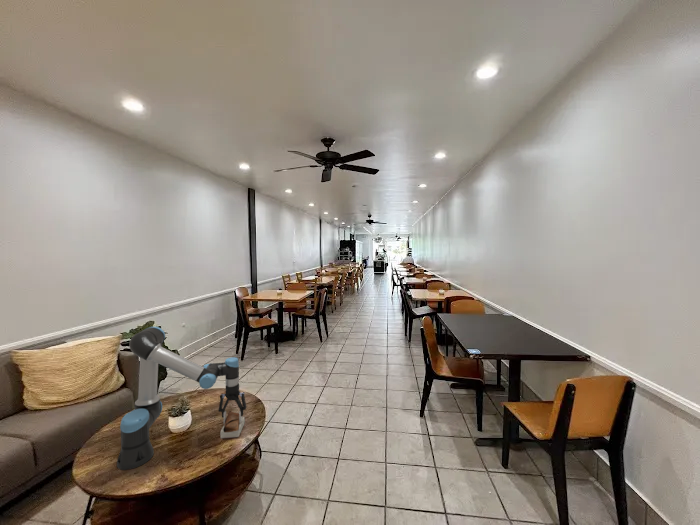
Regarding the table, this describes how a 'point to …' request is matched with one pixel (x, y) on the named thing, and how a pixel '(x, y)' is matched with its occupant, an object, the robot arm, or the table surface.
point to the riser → (234, 433)
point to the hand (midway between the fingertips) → (232, 421)
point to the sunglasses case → (231, 422)
